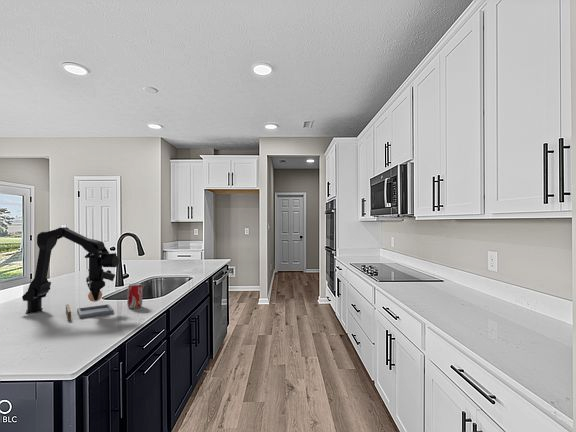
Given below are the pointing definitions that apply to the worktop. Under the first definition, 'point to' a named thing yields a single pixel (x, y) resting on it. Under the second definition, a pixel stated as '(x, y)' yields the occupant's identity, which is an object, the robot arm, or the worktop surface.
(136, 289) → the soda can
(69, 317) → the fence
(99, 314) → the dish
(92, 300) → the ball
